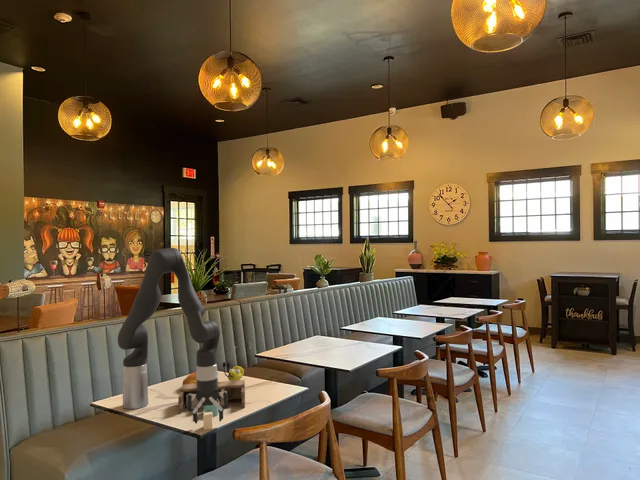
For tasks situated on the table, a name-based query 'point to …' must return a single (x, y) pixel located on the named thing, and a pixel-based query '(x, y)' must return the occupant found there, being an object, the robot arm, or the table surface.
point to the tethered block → (209, 416)
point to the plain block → (193, 400)
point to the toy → (234, 372)
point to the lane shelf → (232, 387)
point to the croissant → (190, 379)
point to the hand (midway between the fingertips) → (208, 421)
